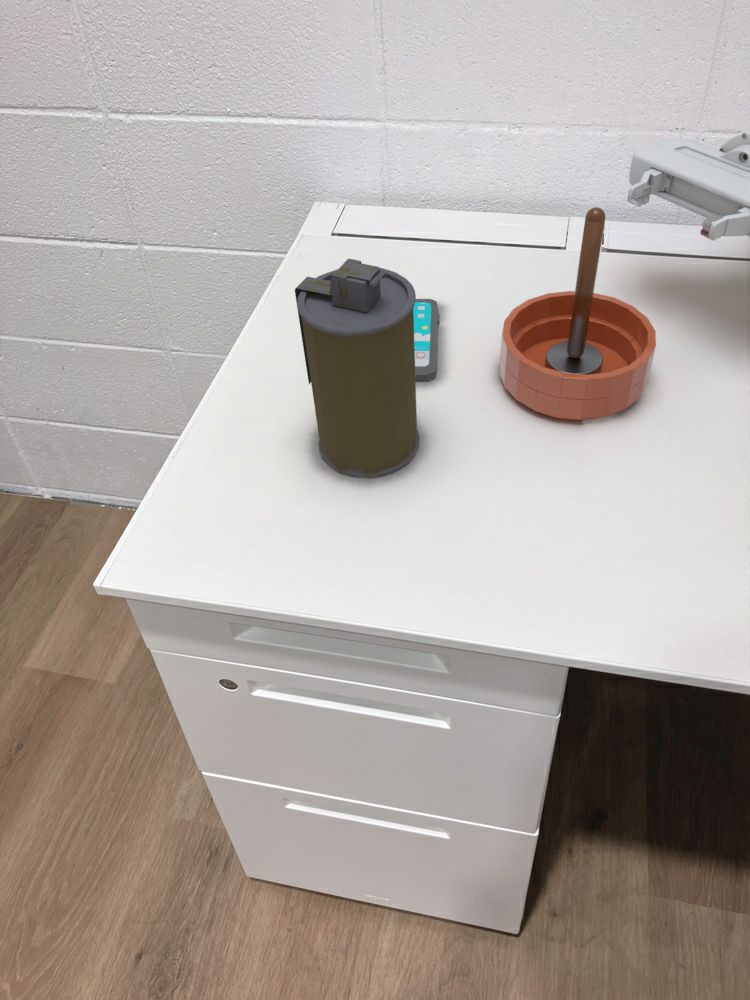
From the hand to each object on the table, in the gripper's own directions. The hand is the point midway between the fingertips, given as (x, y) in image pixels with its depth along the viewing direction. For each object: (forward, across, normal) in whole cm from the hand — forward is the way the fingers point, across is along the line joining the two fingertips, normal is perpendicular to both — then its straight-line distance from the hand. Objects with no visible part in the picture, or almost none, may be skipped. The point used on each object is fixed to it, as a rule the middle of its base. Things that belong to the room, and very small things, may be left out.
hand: (668, 213), depth 81 cm
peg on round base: (+11, 0, +15) cm, 18 cm away
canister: (+34, -6, +16) cm, 38 cm away
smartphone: (+21, -17, +15) cm, 31 cm away
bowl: (+11, 0, +15) cm, 19 cm away
